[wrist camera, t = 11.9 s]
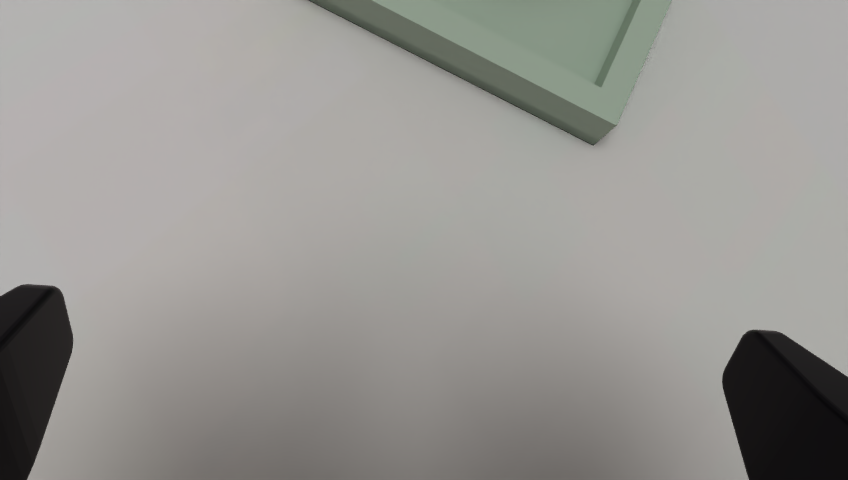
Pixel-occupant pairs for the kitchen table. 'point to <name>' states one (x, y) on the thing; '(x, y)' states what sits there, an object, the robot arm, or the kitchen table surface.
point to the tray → (527, 49)
